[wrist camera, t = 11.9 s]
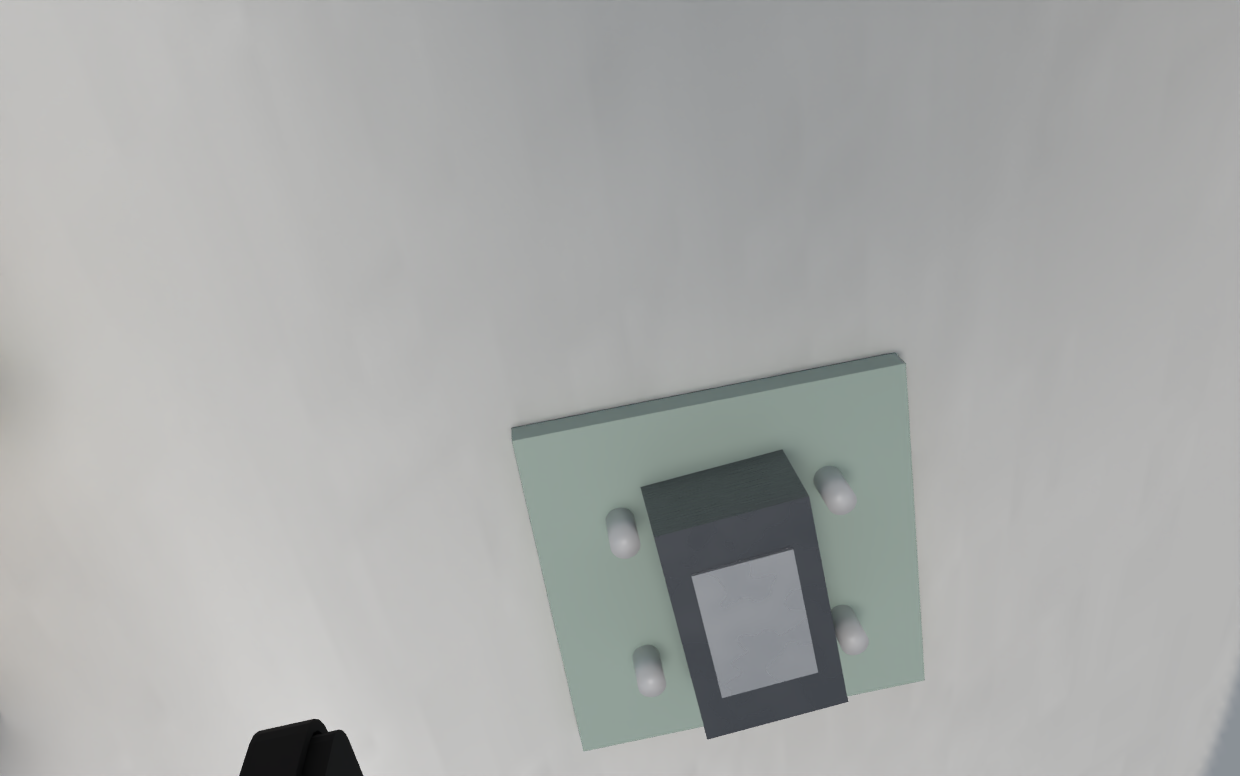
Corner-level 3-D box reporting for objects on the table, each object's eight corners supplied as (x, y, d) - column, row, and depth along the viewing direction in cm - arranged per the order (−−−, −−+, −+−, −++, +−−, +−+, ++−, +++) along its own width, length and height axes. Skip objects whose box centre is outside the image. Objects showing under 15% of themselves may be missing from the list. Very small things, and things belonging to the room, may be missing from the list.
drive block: (782, 449, 43) (810, 498, 39) (820, 642, 47) (849, 703, 43) (640, 487, 43) (654, 539, 39) (690, 677, 47) (708, 742, 43)
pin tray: (895, 352, 43) (924, 382, 40) (915, 664, 49) (941, 709, 46) (511, 428, 42) (512, 463, 39) (581, 733, 49) (587, 783, 46)
